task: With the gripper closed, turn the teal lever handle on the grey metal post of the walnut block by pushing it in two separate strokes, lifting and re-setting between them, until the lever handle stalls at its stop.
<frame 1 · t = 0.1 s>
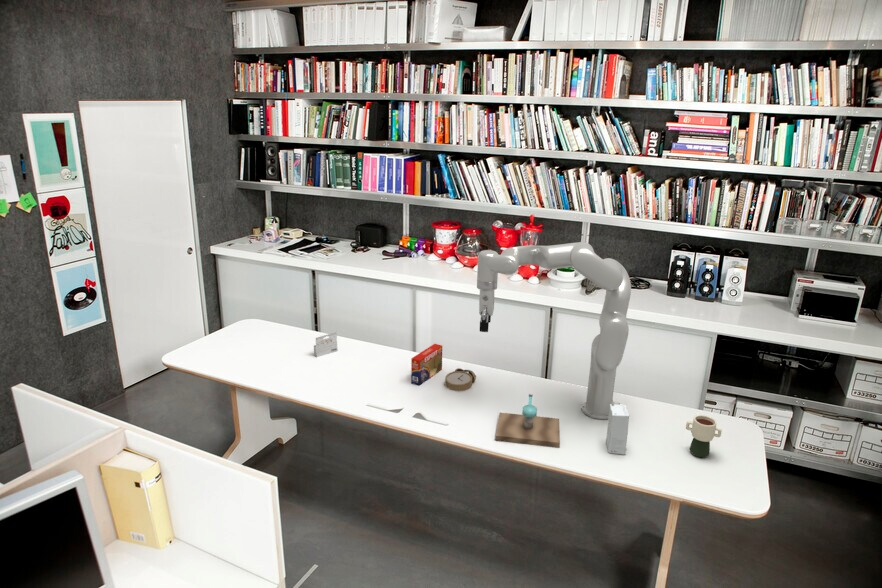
hand: (485, 326, 224), 31 cm above the table, fingers open, 9 cm apart
ink cartridge box: (326, 354, 272), on the table
skincare box: (614, 448, 204), on the table
teal lever handle: (529, 408, 214), point 7 cm above the table, hinge at 0.0°
post block: (528, 431, 213), on the table
character mug: (698, 453, 202), on the table
toy box: (427, 376, 252), on the table
alarm clock: (460, 384, 247), on the table
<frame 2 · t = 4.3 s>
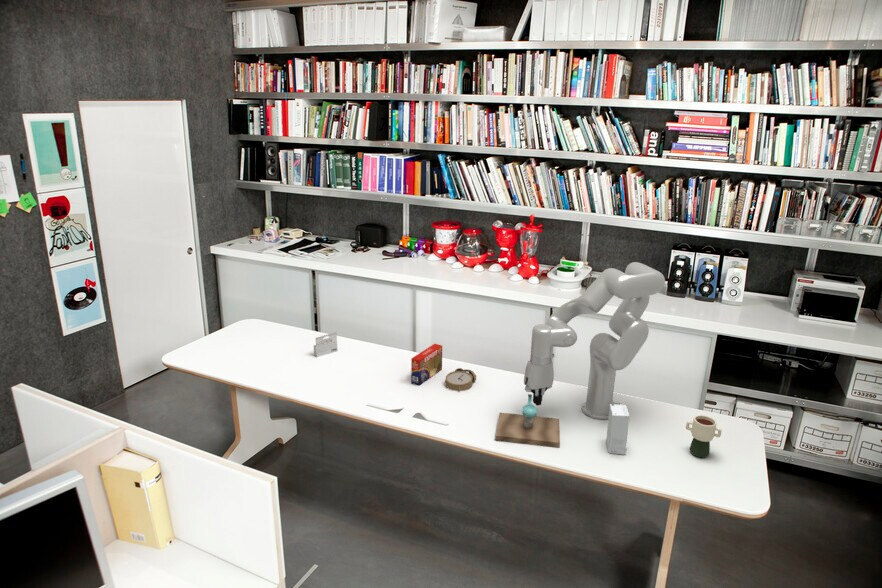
hand: (537, 403, 218), 7 cm above the table, fingers closed
teal lever handle: (529, 408, 214), point 7 cm above the table, hinge at 1.4°, touching gripper
everything else where it was.
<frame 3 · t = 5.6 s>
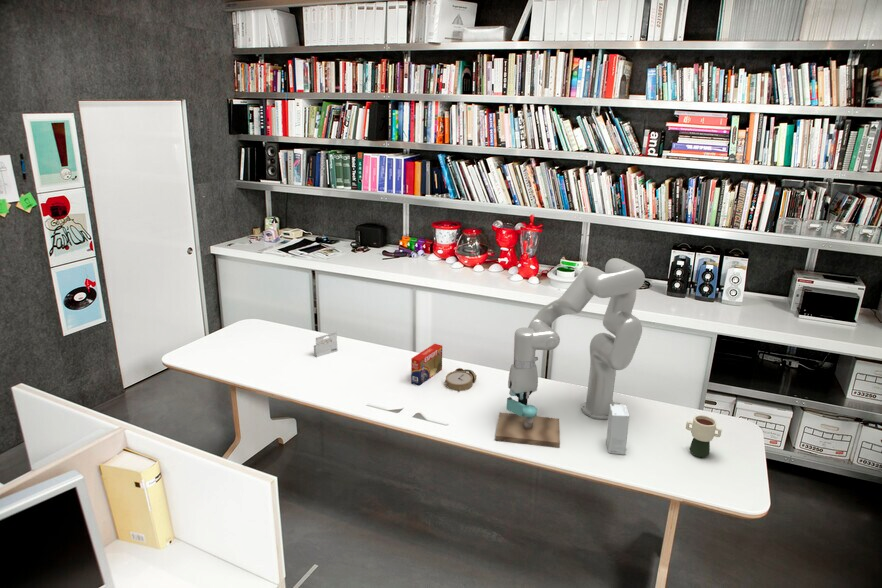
hand: (522, 407, 216), 7 cm above the table, fingers closed
teal lever handle: (521, 409, 213), point 7 cm above the table, hinge at 53.8°, touching gripper
everything else where it was.
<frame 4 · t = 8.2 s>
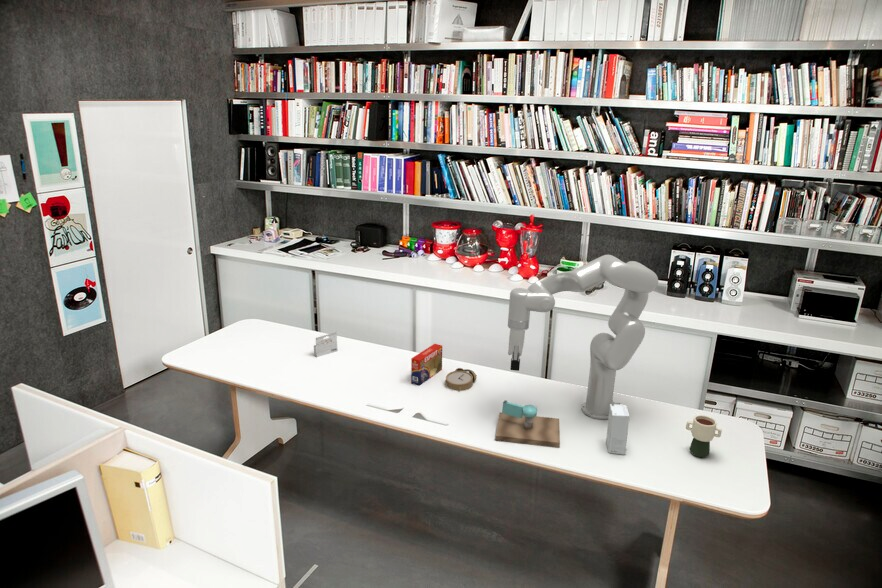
hand: (514, 369, 216), 20 cm above the table, fingers closed
teal lever handle: (519, 411, 212), point 7 cm above the table, hinge at 72.7°
everything else where it was.
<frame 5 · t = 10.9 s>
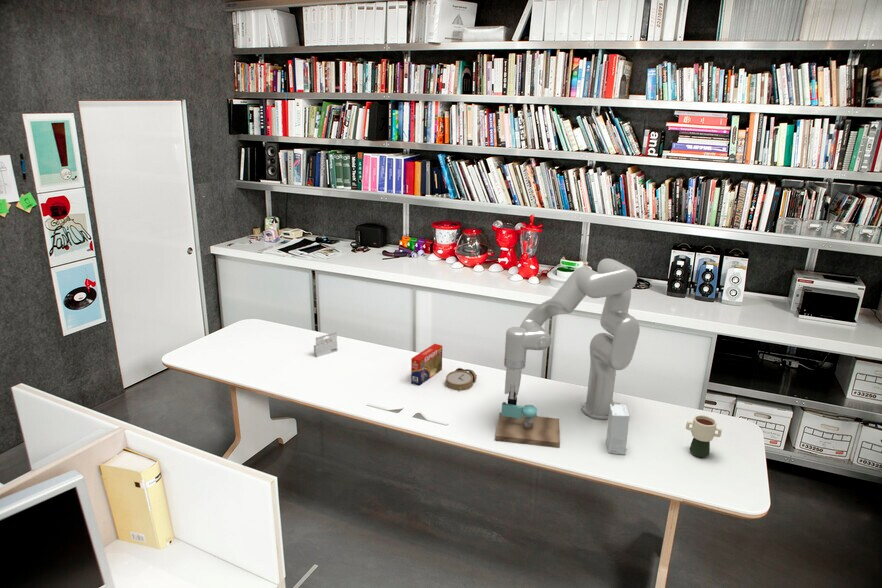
hand: (511, 407, 215), 7 cm above the table, fingers closed
teal lever handle: (519, 411, 212), point 7 cm above the table, hinge at 81.3°, touching gripper
everything else where it was.
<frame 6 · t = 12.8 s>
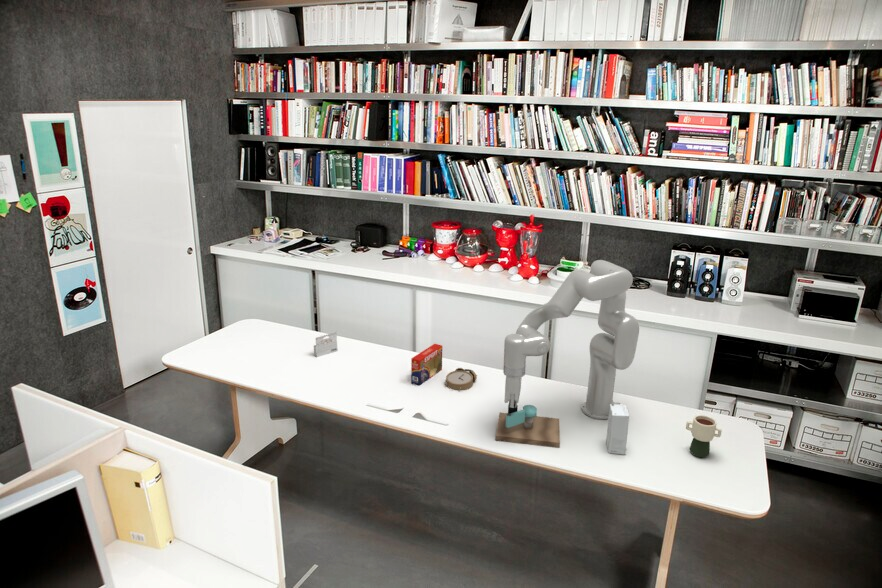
hand: (512, 415, 210), 7 cm above the table, fingers closed
teal lever handle: (521, 416, 209), point 7 cm above the table, hinge at 131.2°, touching gripper
everything else where it was.
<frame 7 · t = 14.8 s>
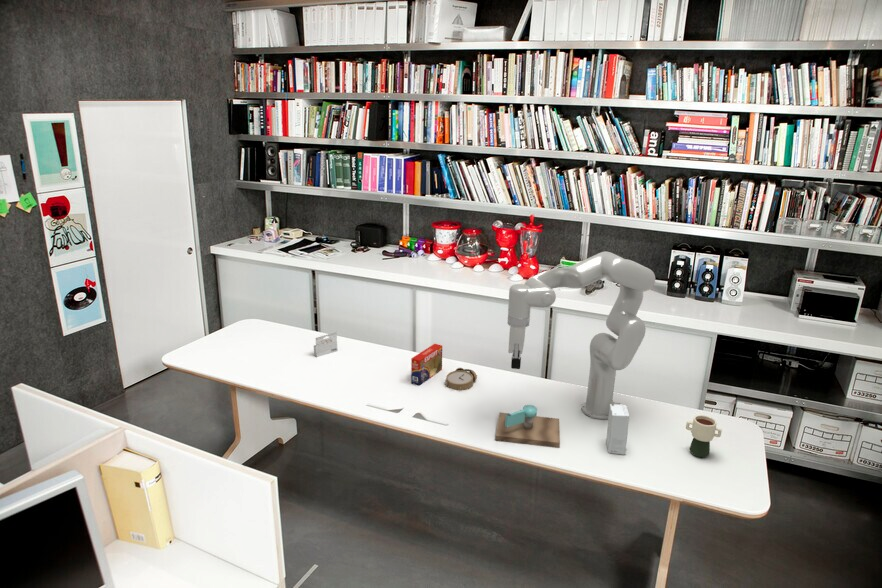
hand: (515, 367, 210), 23 cm above the table, fingers closed
teal lever handle: (520, 416, 209), point 7 cm above the table, hinge at 129.7°
everything else where it was.
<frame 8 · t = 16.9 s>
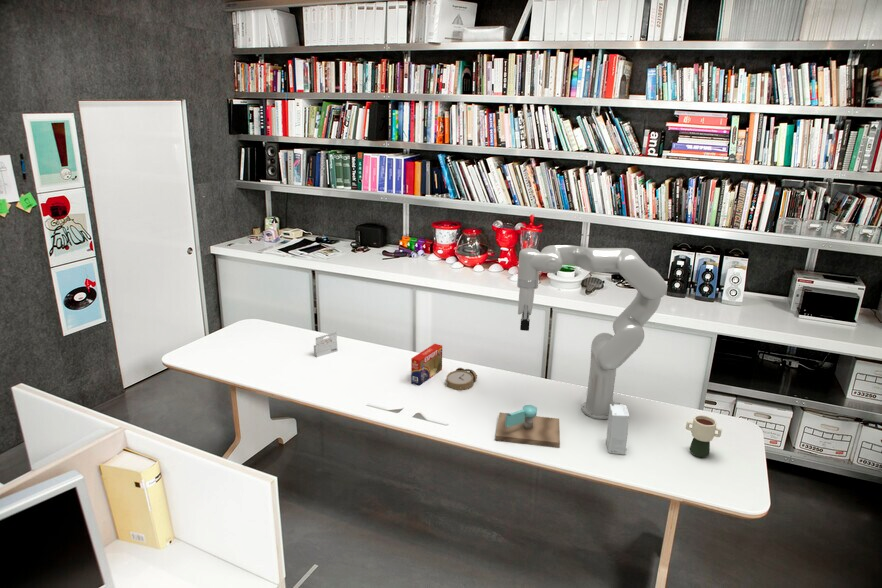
hand: (524, 329, 220), 32 cm above the table, fingers closed
nothing on the table moved.
at the end: teal lever handle at +130° (first picture: +0°); the gripper is holding nothing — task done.
